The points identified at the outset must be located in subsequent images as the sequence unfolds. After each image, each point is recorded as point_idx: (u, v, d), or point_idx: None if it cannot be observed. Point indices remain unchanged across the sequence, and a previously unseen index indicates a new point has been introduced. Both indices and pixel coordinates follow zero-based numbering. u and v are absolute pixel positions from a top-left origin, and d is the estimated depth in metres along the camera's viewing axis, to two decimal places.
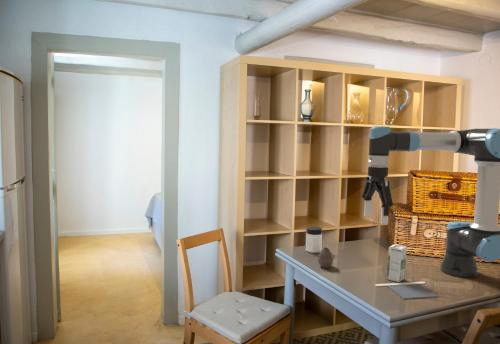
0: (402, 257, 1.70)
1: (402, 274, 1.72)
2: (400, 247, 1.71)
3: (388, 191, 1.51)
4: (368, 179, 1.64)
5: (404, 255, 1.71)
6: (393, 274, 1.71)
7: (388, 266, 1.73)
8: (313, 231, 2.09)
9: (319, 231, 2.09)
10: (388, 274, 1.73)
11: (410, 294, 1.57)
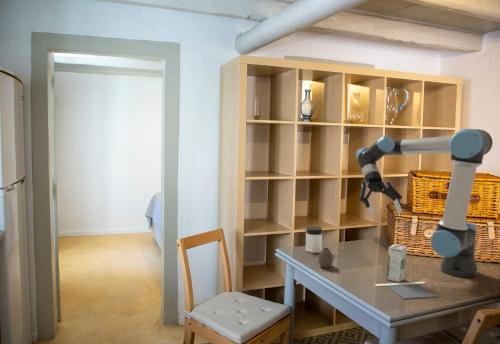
0: (402, 257, 1.70)
1: (402, 274, 1.72)
2: (400, 247, 1.71)
3: (362, 189, 1.87)
4: None
5: (404, 255, 1.71)
6: (393, 274, 1.71)
7: (388, 266, 1.73)
8: (313, 231, 2.09)
9: (319, 231, 2.09)
10: (388, 274, 1.73)
11: (410, 294, 1.57)
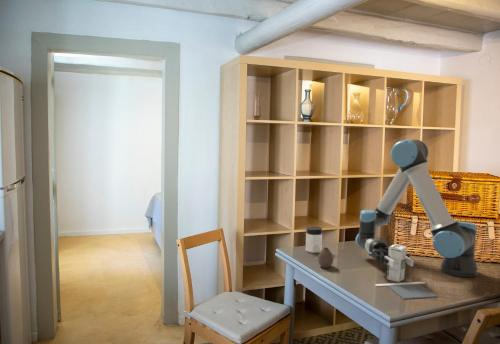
0: (402, 257, 1.70)
1: (402, 274, 1.72)
2: (400, 247, 1.71)
3: (373, 253, 1.79)
4: None
5: (404, 255, 1.71)
6: (393, 274, 1.71)
7: (388, 266, 1.73)
8: (313, 231, 2.09)
9: (319, 231, 2.09)
10: (388, 274, 1.73)
11: (410, 294, 1.57)
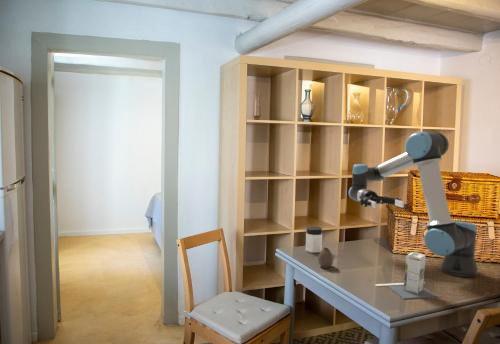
0: (421, 266, 1.57)
1: (421, 284, 1.59)
2: (418, 255, 1.58)
3: (360, 199, 1.93)
4: None
5: (423, 264, 1.58)
6: (411, 284, 1.59)
7: (405, 276, 1.60)
8: (313, 231, 2.09)
9: (319, 231, 2.09)
10: (405, 284, 1.60)
11: (410, 294, 1.57)
